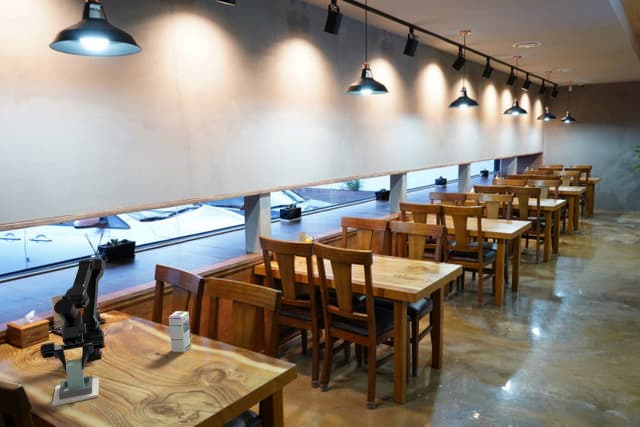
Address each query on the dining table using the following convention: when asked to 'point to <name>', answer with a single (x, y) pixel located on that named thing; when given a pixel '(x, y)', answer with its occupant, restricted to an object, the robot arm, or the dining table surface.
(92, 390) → the white grey square base
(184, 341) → the syrup box
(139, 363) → the dining table surface
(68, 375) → the teal green block
